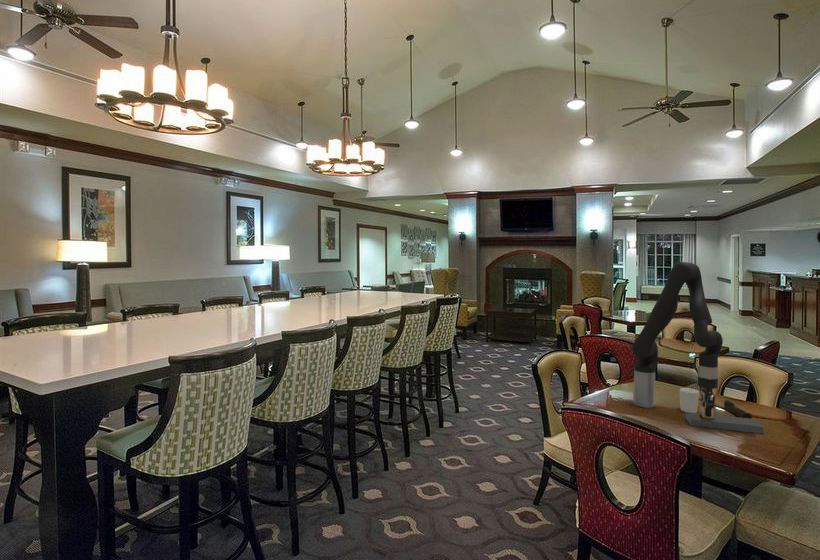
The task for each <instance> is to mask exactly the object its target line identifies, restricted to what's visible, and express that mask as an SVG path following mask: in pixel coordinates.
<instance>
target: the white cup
mask: <svg viewBox="0 0 820 560" xmlns="http://www.w3.org/2000/svg"><path fill="white" fill-rule="evenodd" d="M699 396H700V390H697V389H694V388H689V387H688V388H687V387H682V388H679V402H680V403H679V404H680V410H681V411H682V412H685V413H686V412H691V413H698V405H699V399H700V397H699Z"/></svg>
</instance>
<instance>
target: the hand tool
mask: <svg viewBox="0 0 820 560" xmlns="http://www.w3.org/2000/svg"><path fill="white" fill-rule="evenodd" d="M723 408H724V409H725V411H727V412H728V411H730V412H729V413H732V414H733V415H735V416H736V417H739V418H749V419H753V415H752V414H751V413H749V412H747V411H745V410H743V409H741V408H739V407H737V406H736V405H735V403H734V402H732V401H730V400H727V399H726V400H724V402H723Z"/></svg>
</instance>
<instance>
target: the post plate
mask: <svg viewBox="0 0 820 560" xmlns="http://www.w3.org/2000/svg"><path fill="white" fill-rule="evenodd" d="M685 420H686V421H687V422H688V424H689V425H690V427H696V428H697V427H699V428H708V429H715V430H725V431H733V432H735V431H736V432H744V433H751V432H753V433H752V434H760V433H761V434H763V435H764V426H763V425H762V424H761V423H760V422H758V421H757V420H756V419H755V418H751V419H749V418H740V417H738V416H729V415H721V414H720V415H718V414H713V420H711V419H701V417H700V412H699V413H698V412H696V413H691V412H685ZM761 434H760V435H761Z"/></svg>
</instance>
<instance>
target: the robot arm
mask: <svg viewBox="0 0 820 560" xmlns="http://www.w3.org/2000/svg"><path fill="white" fill-rule="evenodd" d="M684 284H686V287H687V290H688V293H689V305H688V308H689V313H690V316H691V319H692V322H693V335H694V341H695V343H696V344H697V345H698V346H699V347H701V348H705V349H704V351H701V352H700V353H699V354H698V368H697V381H696V382H697V383H696V384H697V387H700V388H699V396H700V397H699V398H700V402H701V404H702V405H705V416H707V417H711V412H712V408H714V409H715V400H716V396H715V393H714V389H718V387H719V368H718V367H719V356H720V354H721V351H722V350H721V349H722V347H723V343H724V342H723V341H724V339H723V336H722V334H721V333H720V332H719V331H717V330H708V329H709V328H708V326H710V325H711V324H712V323H713V319H712V316H711V313H710V310H709V307H708V304H707V301H706V295H705V291H704V286H703V280H702V273H701V269H700V267H699V266H698V265H697V264H695V263H694V262H687V261H679V262H676V263H675V264H673V266H672V268H671V269H670V272H669V274H668V277H667V279H666V282H665V285H664V286H663V289H662V291H661V293H660V294H659V297H658V299H657V300H656V302H655V304H654V306H653V308H652V309H651V312H650V314H649V316H648V318H647V319H646V322H645V324H644V326H643V328H642V329H641V331H640V333H639V334H638V336H637V337H636V338H635V340H634V342H633V343H632V346H631V351H632V354H633V355H634V357H636V358H638V359H637V361H636V363H635V364H634V367H633V368H634V372H633V373H634V374H633V375H634V376H633V384H632V387H633V388H632V390H633V391H632V394H633V395H632V403H633V406H635V407H639V408H640V407H641V408H647V409H648V408H649V409H650V408H654V407H655V394H656V392H655V391H656V368H657V366H658V359H659V358H658V355H659V347H658V344H657V342H656V339H657V338H658V336H659V335H660V334H661V333H662V332H663V331H664V330H665V328H667V327H668V325H669V324H670V323H671V322H672V321H673V319H674V316H675V315H676V313H677V310H678V307H679V306H678V304H679V302H678V300H679V295H680V291H681V290H682V288H683V286H684Z"/></svg>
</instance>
